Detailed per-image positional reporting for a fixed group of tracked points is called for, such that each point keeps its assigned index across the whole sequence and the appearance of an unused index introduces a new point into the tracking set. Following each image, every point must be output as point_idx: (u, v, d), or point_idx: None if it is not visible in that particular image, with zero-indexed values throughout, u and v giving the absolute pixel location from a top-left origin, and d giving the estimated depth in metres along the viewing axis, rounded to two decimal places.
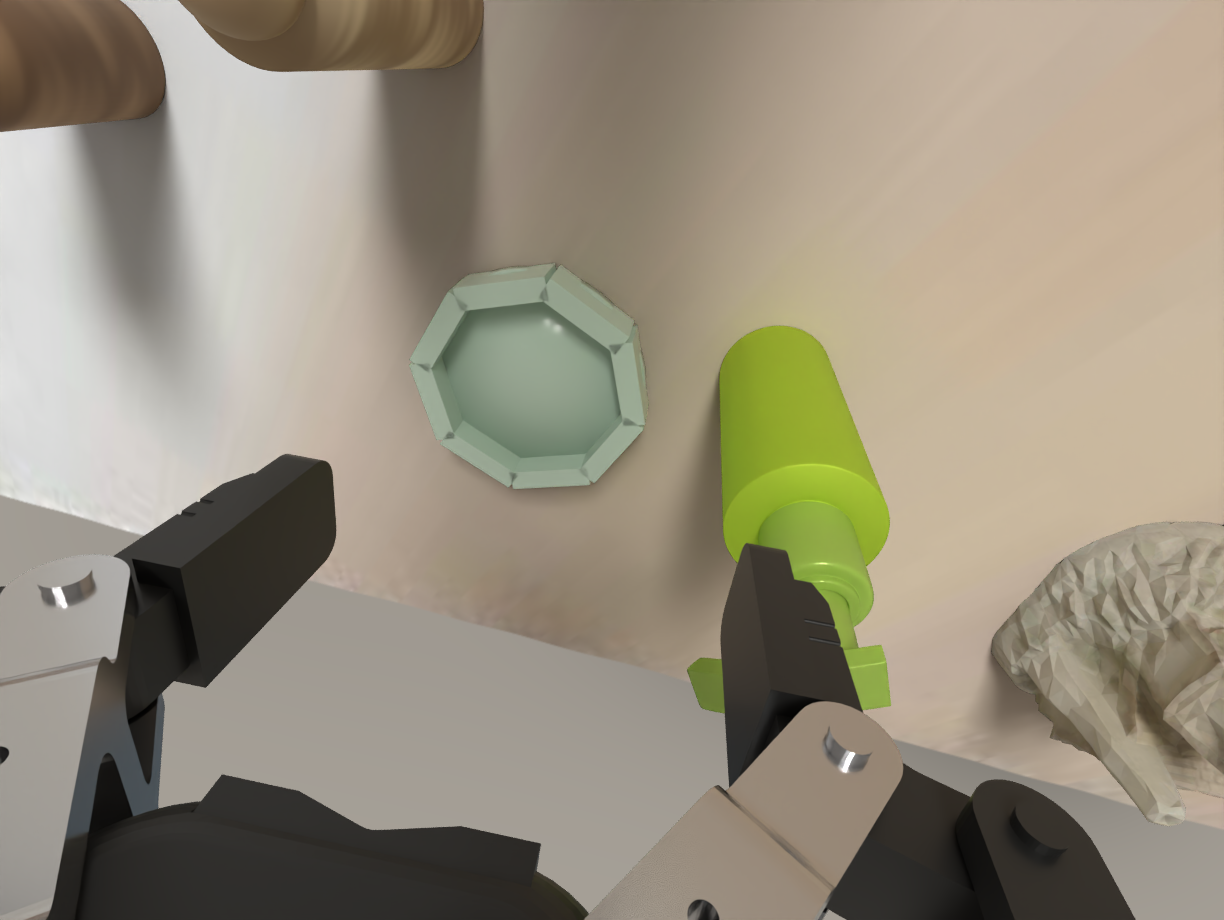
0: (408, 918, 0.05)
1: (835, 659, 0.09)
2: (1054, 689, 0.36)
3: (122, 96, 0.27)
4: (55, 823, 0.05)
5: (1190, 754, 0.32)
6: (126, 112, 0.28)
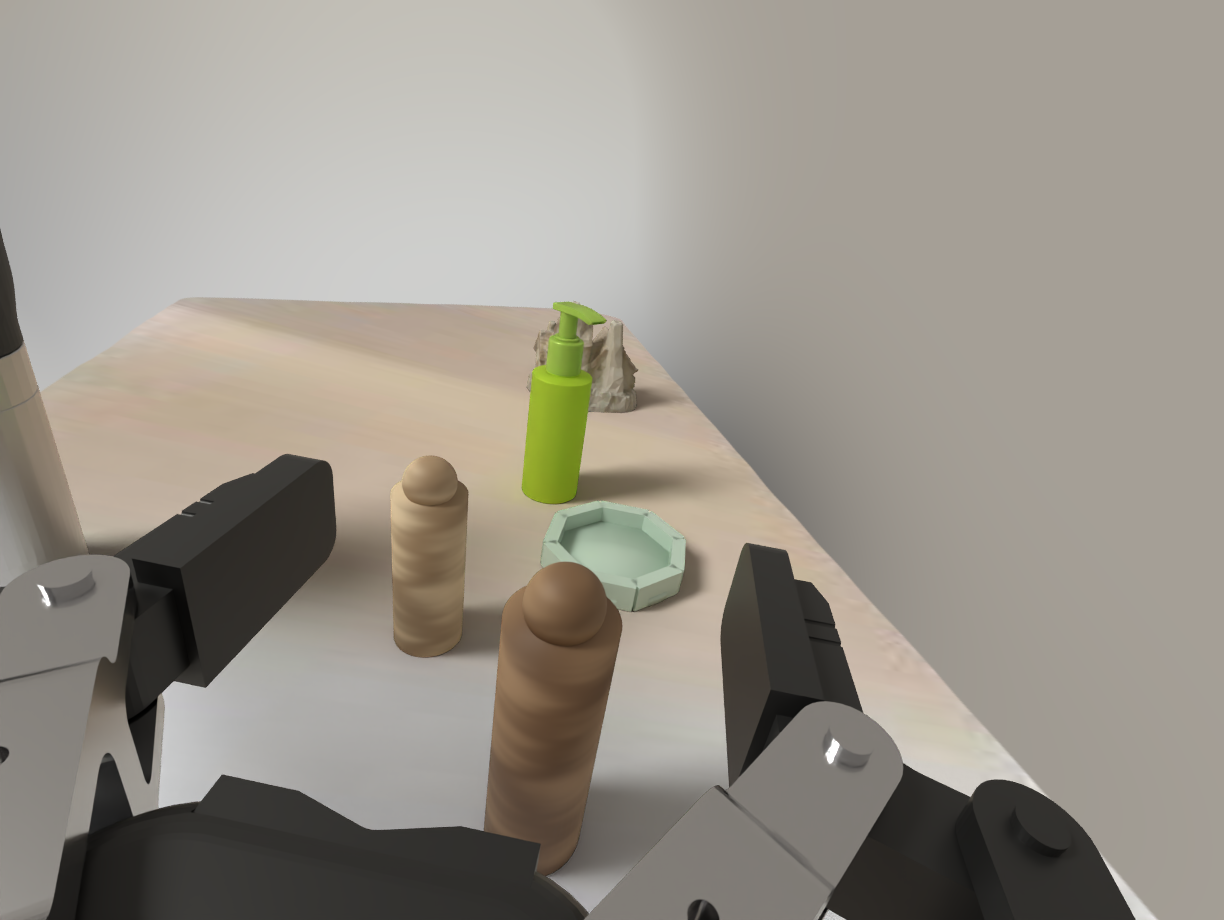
0: (408, 917, 0.05)
1: (835, 659, 0.09)
2: (617, 377, 0.85)
3: None
4: (54, 823, 0.05)
5: (601, 340, 0.86)
6: None
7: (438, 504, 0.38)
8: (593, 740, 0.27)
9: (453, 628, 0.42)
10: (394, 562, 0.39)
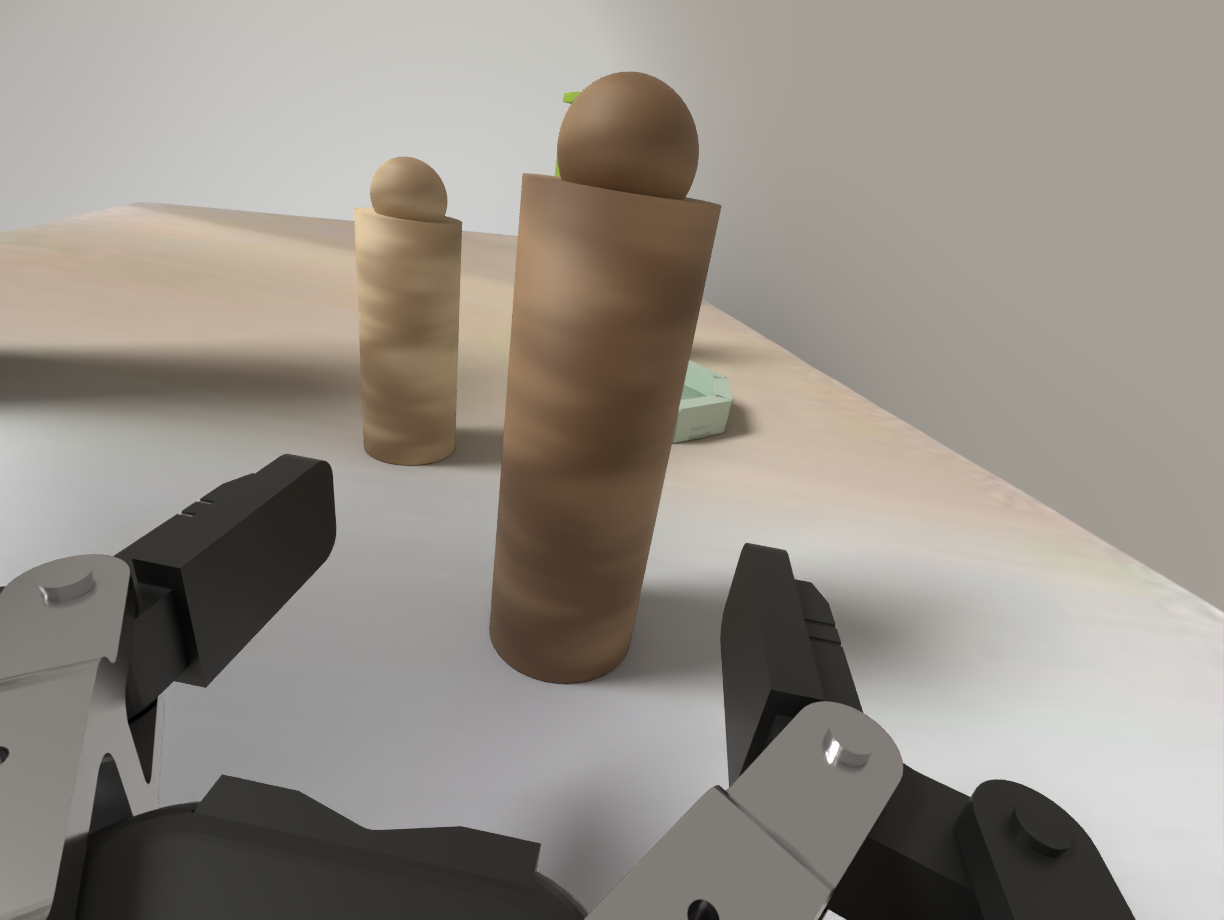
0: (408, 918, 0.05)
1: (835, 659, 0.09)
2: None
3: None
4: (55, 823, 0.05)
5: None
6: None
7: (420, 219, 0.27)
8: (668, 419, 0.17)
9: (443, 427, 0.32)
10: (361, 316, 0.29)
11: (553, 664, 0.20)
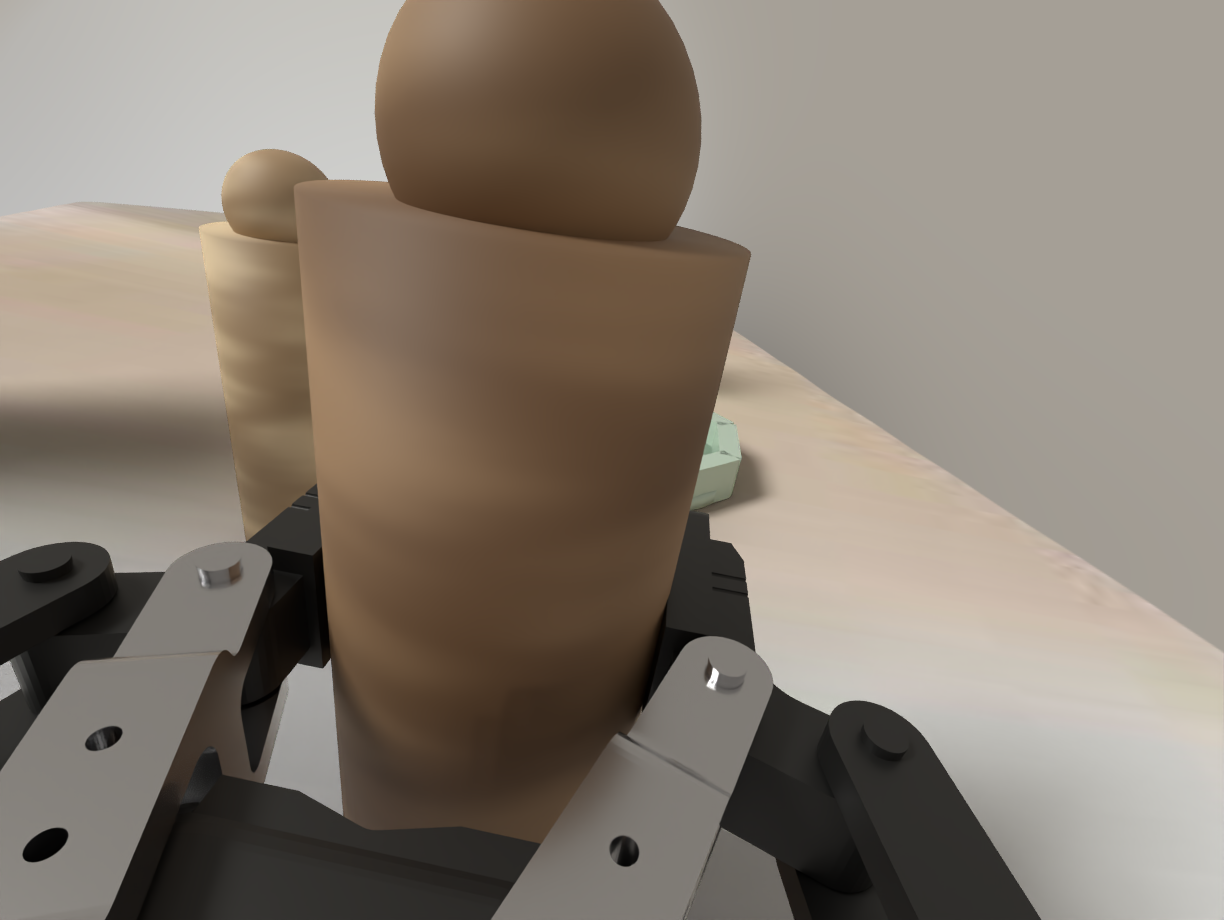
0: (408, 918, 0.05)
1: (739, 607, 0.10)
2: None
3: None
4: (137, 820, 0.05)
5: None
6: None
7: (295, 241, 0.19)
8: (639, 668, 0.09)
9: None
10: (222, 376, 0.20)
11: None
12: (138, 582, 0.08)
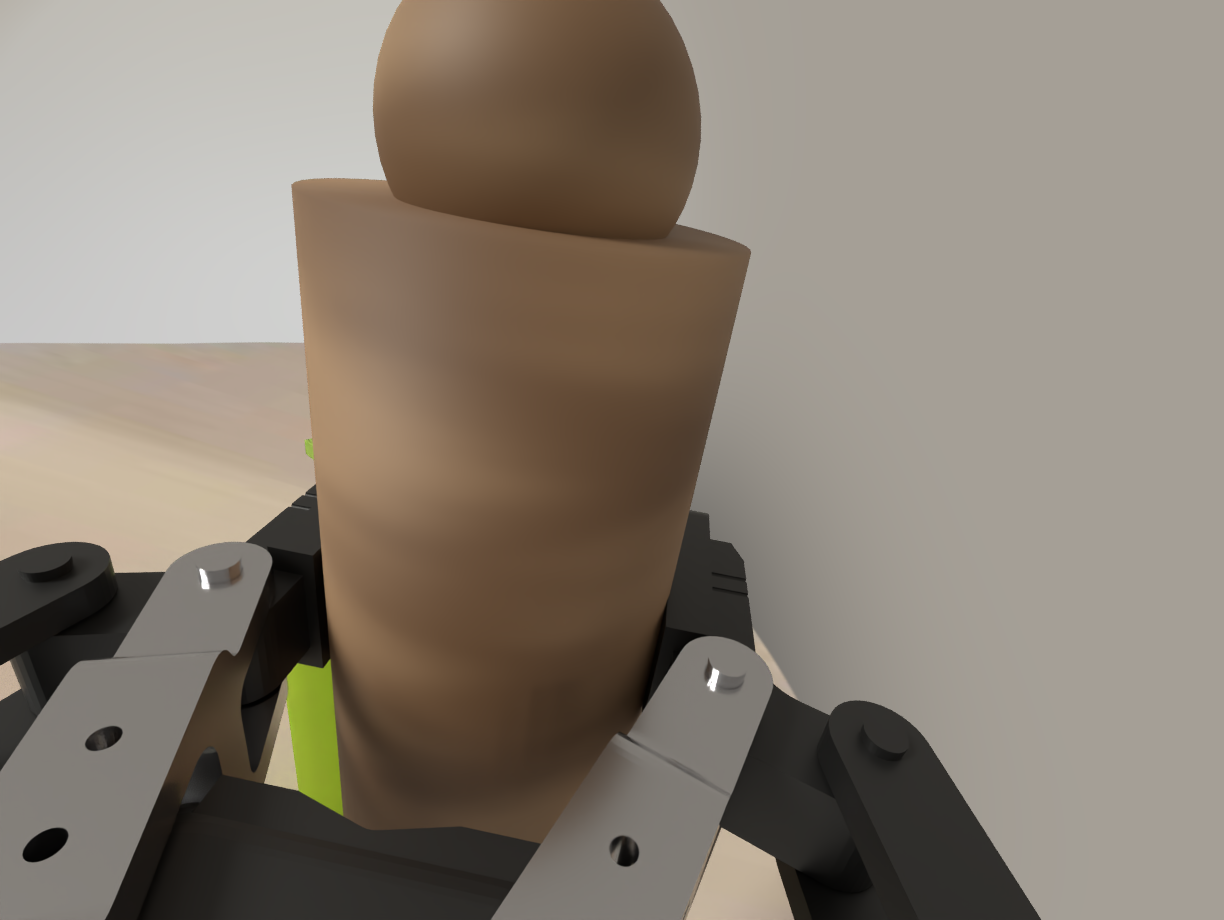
0: (407, 918, 0.05)
1: (739, 607, 0.10)
2: None
3: None
4: (136, 820, 0.05)
5: None
6: None
7: None
8: (640, 667, 0.09)
9: None
10: None
11: None
12: (139, 582, 0.08)
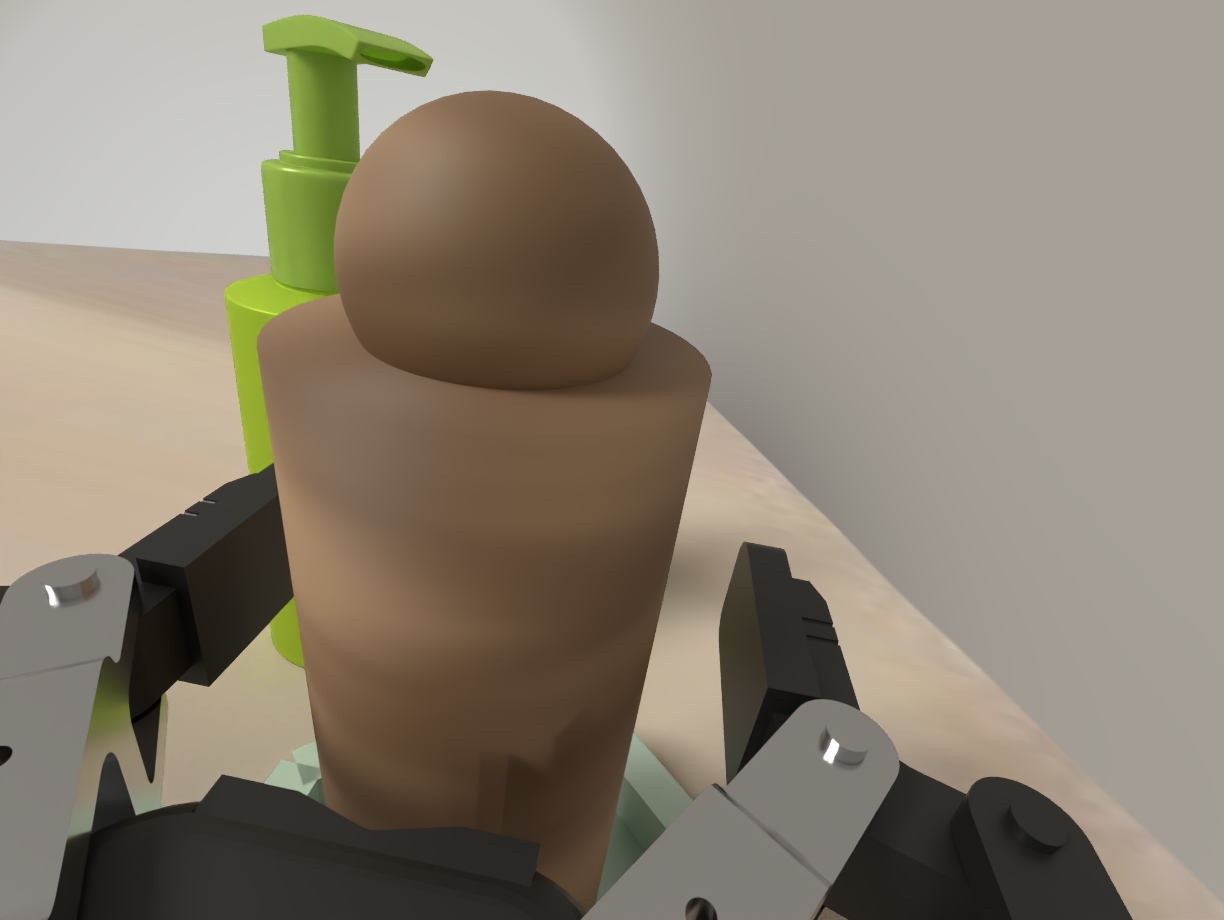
0: (408, 918, 0.05)
1: (833, 657, 0.09)
2: None
3: None
4: (58, 822, 0.05)
5: None
6: None
7: None
8: (614, 758, 0.09)
9: None
10: None
11: None
12: None
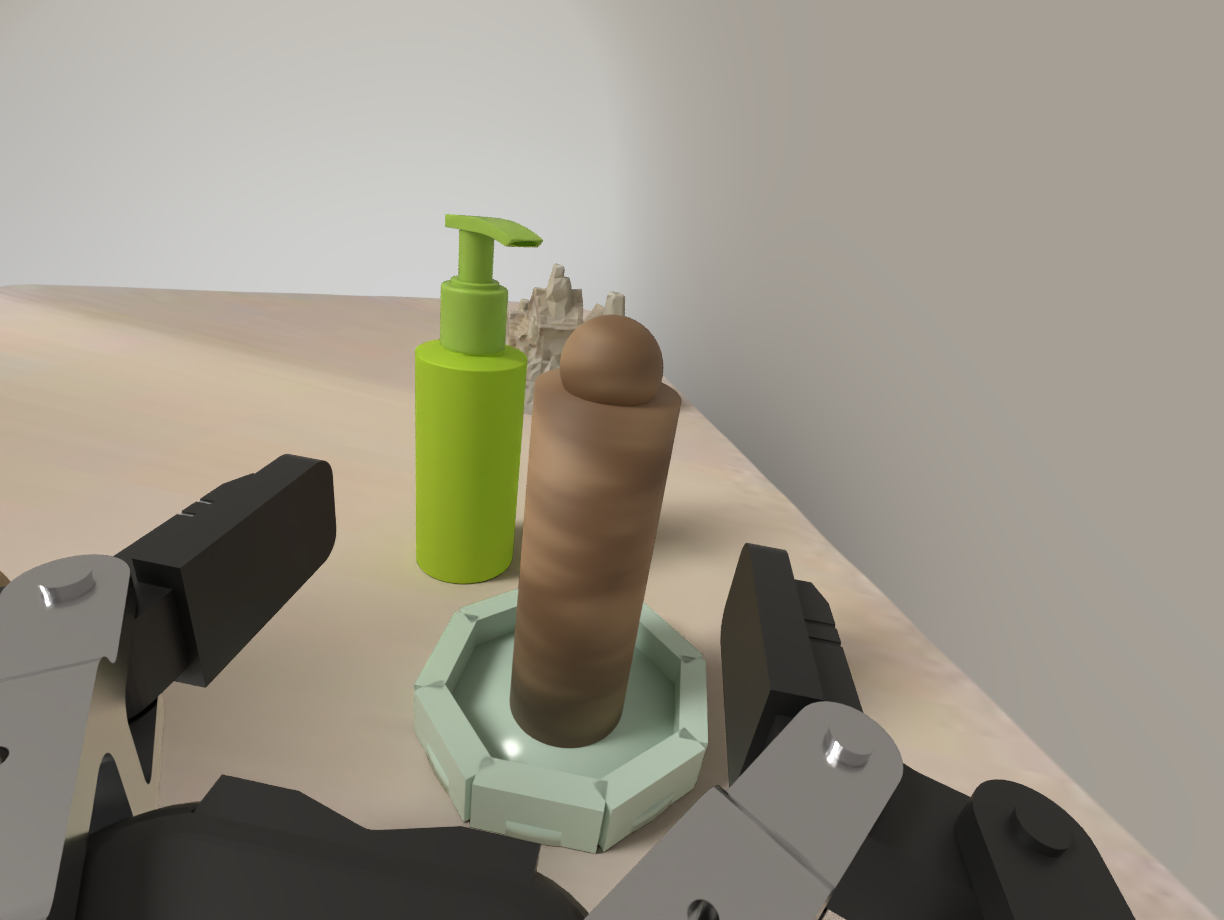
0: (408, 918, 0.05)
1: (835, 659, 0.09)
2: None
3: None
4: (55, 823, 0.05)
5: None
6: None
7: None
8: (646, 552, 0.22)
9: None
10: None
11: (561, 734, 0.25)
12: None
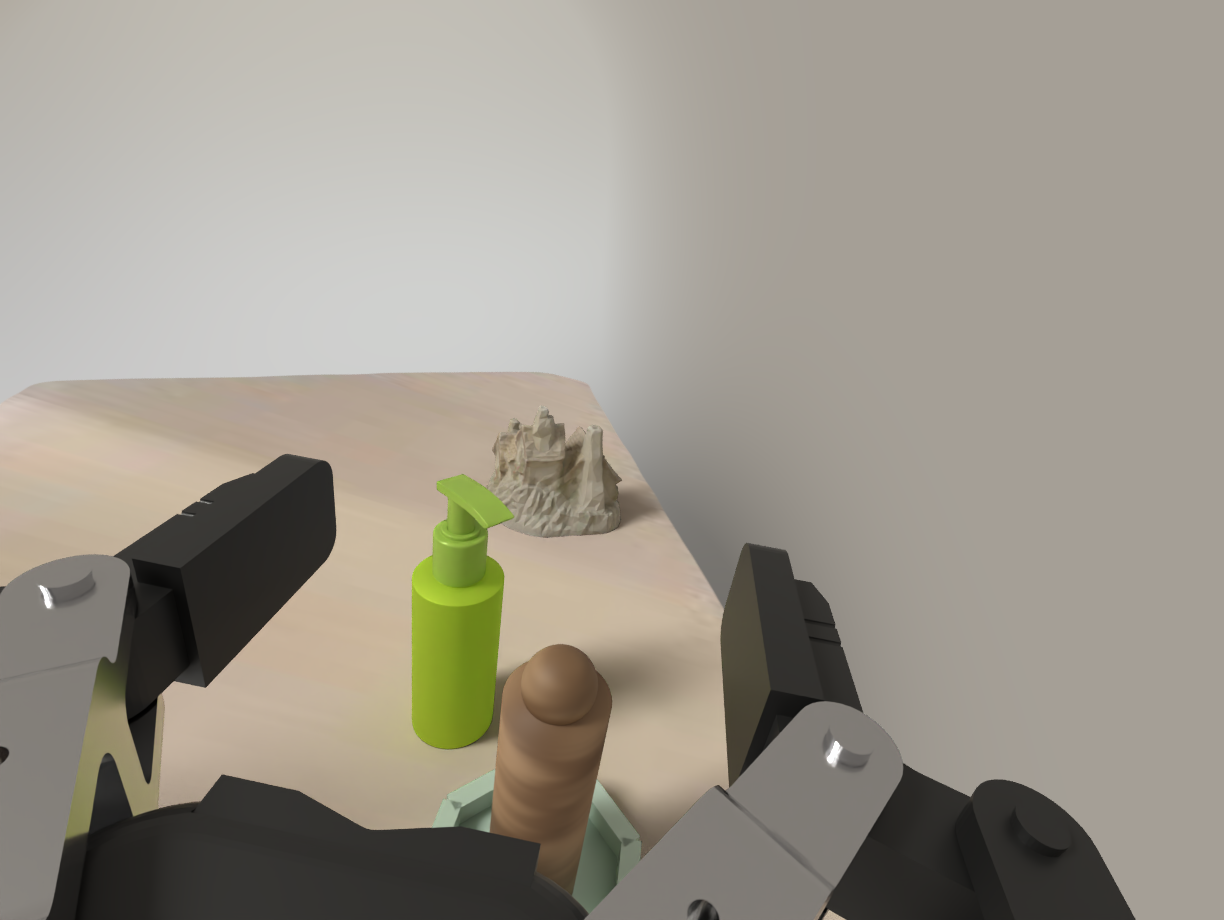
0: (408, 918, 0.05)
1: (835, 659, 0.09)
2: (597, 493, 0.68)
3: None
4: (55, 823, 0.05)
5: (575, 445, 0.70)
6: None
7: None
8: (586, 805, 0.30)
9: None
10: None
11: None
12: None
